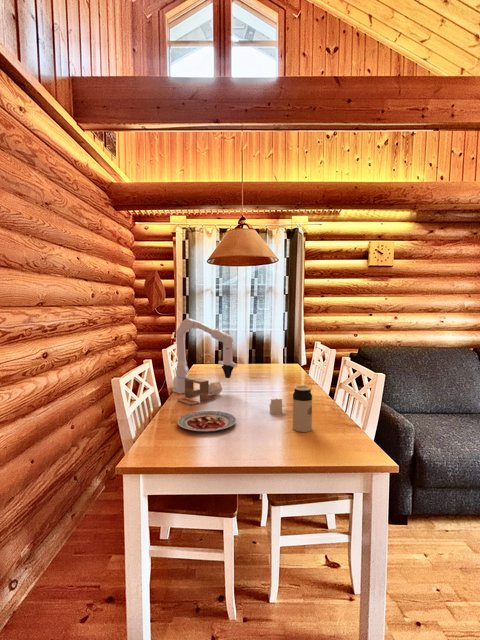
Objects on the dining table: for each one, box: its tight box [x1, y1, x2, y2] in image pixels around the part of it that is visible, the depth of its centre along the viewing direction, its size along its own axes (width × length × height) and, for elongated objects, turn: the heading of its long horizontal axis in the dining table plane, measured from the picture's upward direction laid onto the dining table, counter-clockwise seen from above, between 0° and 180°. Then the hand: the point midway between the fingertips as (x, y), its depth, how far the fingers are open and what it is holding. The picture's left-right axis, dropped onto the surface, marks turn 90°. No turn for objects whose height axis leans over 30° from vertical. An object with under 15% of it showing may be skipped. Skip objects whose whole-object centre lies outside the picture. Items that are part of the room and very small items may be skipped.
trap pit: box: [177, 396, 200, 407], centre depth 190 cm, size 12×5×1 cm, turn 44°
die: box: [209, 380, 223, 397], centre depth 205 cm, size 8×9×10 cm
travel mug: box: [292, 384, 313, 433], centre depth 150 cm, size 8×8×18 cm
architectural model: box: [269, 397, 285, 415], centre depth 173 cm, size 3×7×7 cm, turn 99°
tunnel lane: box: [184, 376, 216, 404], centre depth 197 cm, size 15×10×11 cm, turn 44°
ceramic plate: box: [177, 410, 237, 432], centre depth 156 cm, size 26×26×3 cm
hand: (227, 377), depth 212 cm, fingers closed
